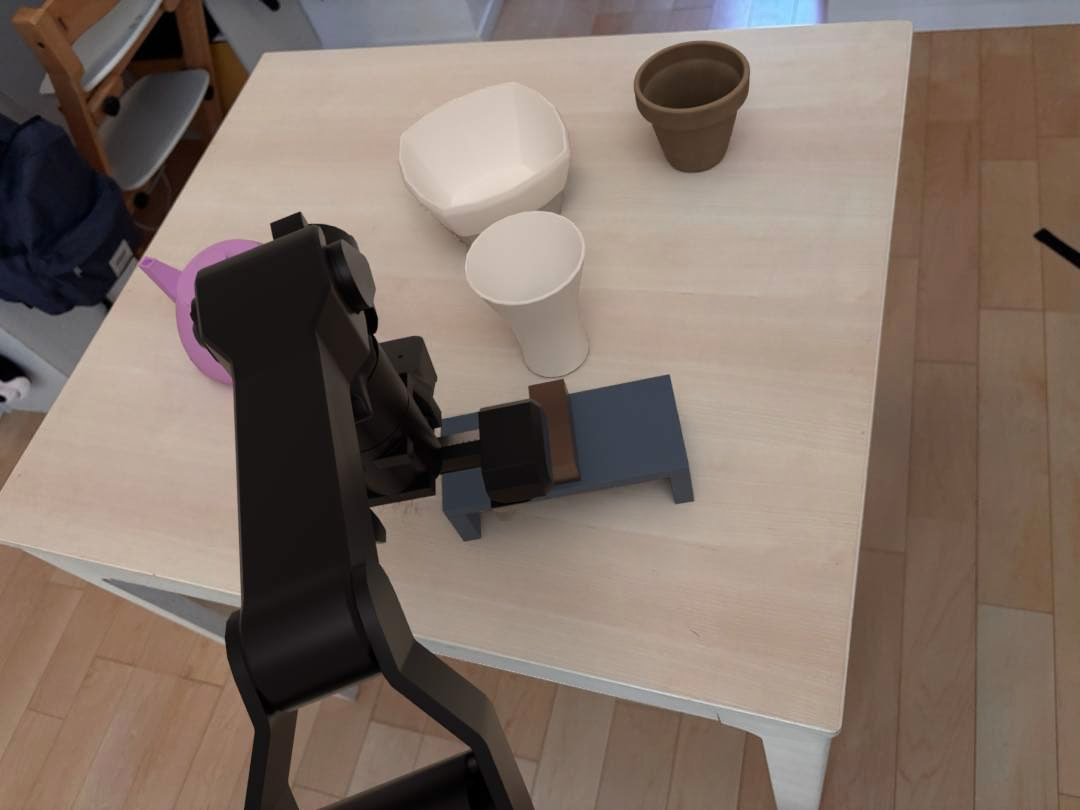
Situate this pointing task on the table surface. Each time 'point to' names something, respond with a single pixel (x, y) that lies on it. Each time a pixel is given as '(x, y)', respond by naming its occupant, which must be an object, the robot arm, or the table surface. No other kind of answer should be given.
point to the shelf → (592, 449)
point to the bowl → (487, 158)
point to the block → (559, 429)
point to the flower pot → (693, 100)
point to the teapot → (182, 293)
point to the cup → (534, 286)
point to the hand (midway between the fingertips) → (444, 526)
